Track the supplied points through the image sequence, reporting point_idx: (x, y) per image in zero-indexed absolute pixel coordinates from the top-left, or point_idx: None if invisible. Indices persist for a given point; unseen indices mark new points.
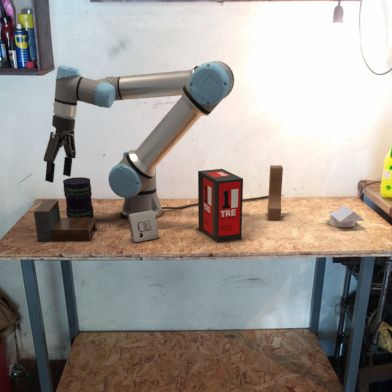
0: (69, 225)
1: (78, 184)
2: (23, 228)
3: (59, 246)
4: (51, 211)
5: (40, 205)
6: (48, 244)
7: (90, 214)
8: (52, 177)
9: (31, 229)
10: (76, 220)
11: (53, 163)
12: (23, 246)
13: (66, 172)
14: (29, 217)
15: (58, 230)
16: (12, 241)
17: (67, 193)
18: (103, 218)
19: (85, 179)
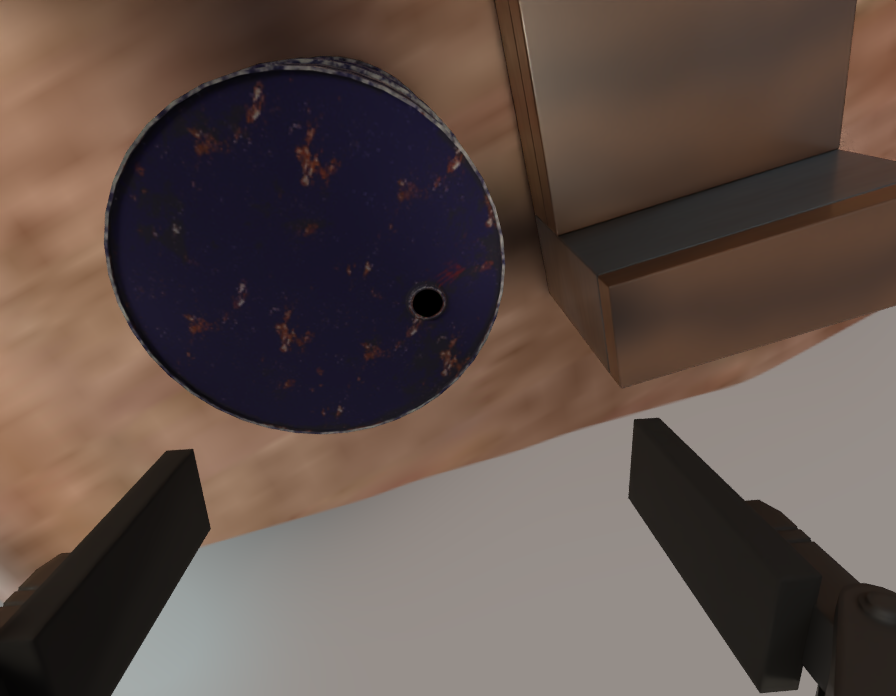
0: (748, 58)
1: (473, 165)
2: (560, 410)
3: (885, 36)
4: (857, 196)
5: (777, 332)
6: None
7: (358, 60)
8: (687, 451)
9: (571, 367)
10: (616, 67)
11: (813, 589)
12: None
13: (185, 516)
14: (376, 484)
15: (841, 94)
16: (765, 345)
17: (437, 297)
18: (195, 11)
19: (187, 195)
